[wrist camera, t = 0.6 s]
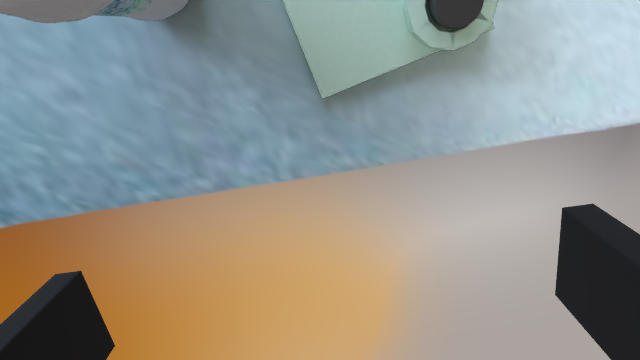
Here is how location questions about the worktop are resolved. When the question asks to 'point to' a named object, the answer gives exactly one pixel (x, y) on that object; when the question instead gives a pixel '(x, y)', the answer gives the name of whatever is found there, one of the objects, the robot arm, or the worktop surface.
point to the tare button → (454, 12)
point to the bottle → (89, 9)
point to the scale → (372, 37)
